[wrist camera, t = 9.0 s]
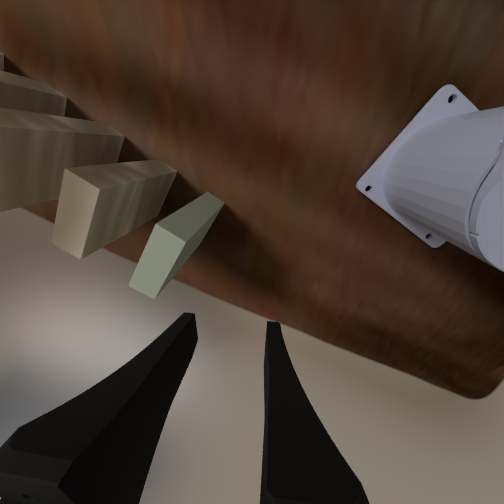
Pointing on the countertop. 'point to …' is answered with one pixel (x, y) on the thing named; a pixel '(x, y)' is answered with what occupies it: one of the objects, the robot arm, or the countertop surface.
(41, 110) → the domino
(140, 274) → the domino
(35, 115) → the domino
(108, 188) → the domino
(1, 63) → the domino
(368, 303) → the countertop surface
